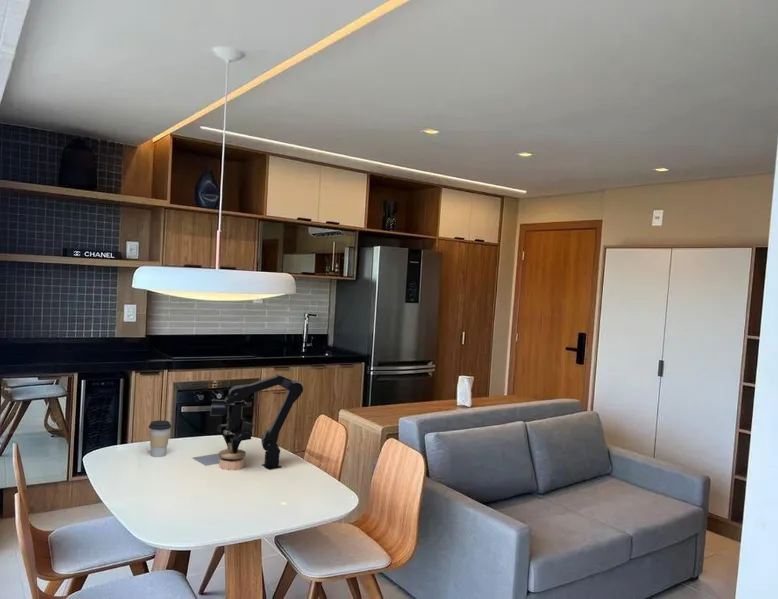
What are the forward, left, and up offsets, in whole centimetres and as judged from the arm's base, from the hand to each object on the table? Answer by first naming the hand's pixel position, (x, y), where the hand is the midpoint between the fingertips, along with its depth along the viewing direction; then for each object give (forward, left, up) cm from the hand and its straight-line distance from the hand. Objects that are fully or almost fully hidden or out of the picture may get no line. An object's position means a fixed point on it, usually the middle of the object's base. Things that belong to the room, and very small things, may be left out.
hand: (232, 451), depth 252 cm
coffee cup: (+30, +19, -7) cm, 36 cm away
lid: (0, 0, -2) cm, 2 cm away
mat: (+13, +2, -7) cm, 15 cm away
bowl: (0, 0, -7) cm, 7 cm away
